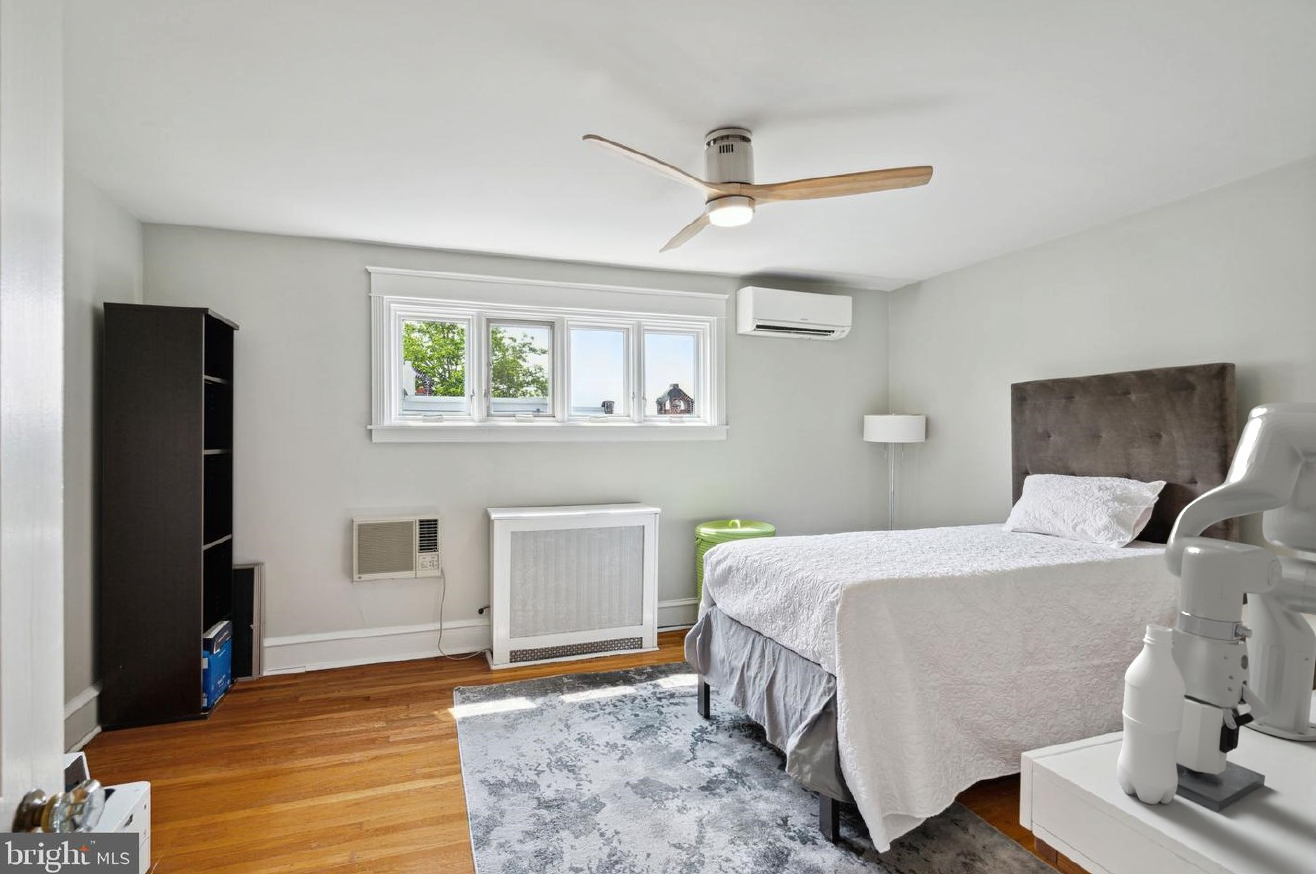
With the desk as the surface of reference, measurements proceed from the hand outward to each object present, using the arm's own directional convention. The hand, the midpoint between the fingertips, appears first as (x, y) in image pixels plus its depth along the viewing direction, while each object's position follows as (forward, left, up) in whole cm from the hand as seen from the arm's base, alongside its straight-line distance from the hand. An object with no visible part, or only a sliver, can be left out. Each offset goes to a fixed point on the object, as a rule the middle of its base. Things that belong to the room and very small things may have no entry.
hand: (1197, 738), depth 103 cm
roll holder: (0, 0, -6) cm, 6 cm away
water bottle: (+13, -1, -6) cm, 15 cm away
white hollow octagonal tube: (0, 0, -4) cm, 4 cm away
